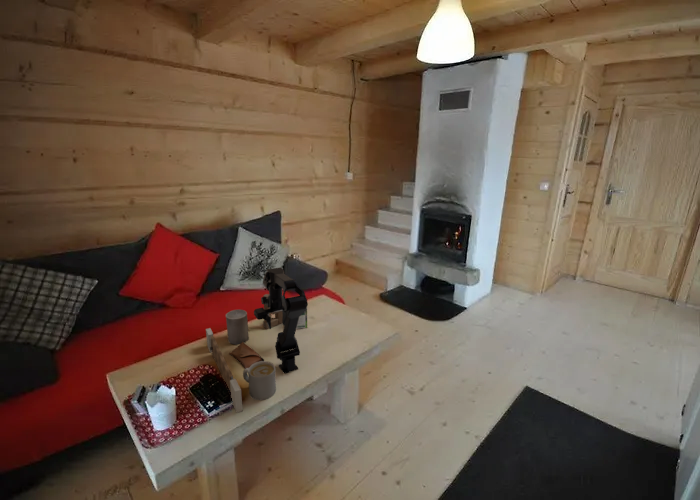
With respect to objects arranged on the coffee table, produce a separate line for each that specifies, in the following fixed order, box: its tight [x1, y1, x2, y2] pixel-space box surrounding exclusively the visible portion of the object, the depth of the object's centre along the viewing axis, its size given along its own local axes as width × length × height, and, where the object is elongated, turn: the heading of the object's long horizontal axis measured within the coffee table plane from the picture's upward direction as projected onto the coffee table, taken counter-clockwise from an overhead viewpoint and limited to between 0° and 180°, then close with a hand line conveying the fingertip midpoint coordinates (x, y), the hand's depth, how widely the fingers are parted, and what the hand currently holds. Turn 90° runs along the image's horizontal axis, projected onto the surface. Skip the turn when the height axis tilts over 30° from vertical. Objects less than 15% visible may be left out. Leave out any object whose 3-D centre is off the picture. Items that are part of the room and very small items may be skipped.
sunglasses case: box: [228, 342, 265, 370], centre depth 154 cm, size 18×7×7 cm, turn 46°
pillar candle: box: [225, 309, 250, 346], centre depth 166 cm, size 10×10×15 cm
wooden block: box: [262, 293, 283, 330], centre depth 180 cm, size 4×11×18 cm, turn 135°
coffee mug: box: [242, 360, 277, 401], centre depth 133 cm, size 13×10×10 cm
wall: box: [205, 327, 243, 414], centre depth 141 cm, size 49×2×9 cm, turn 33°
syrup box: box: [296, 307, 308, 330], centre depth 180 cm, size 6×6×14 cm
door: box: [210, 335, 234, 392], centre depth 141 cm, size 32×2×9 cm, turn 33°
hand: (276, 326), depth 157 cm, fingers open, 6 cm apart
